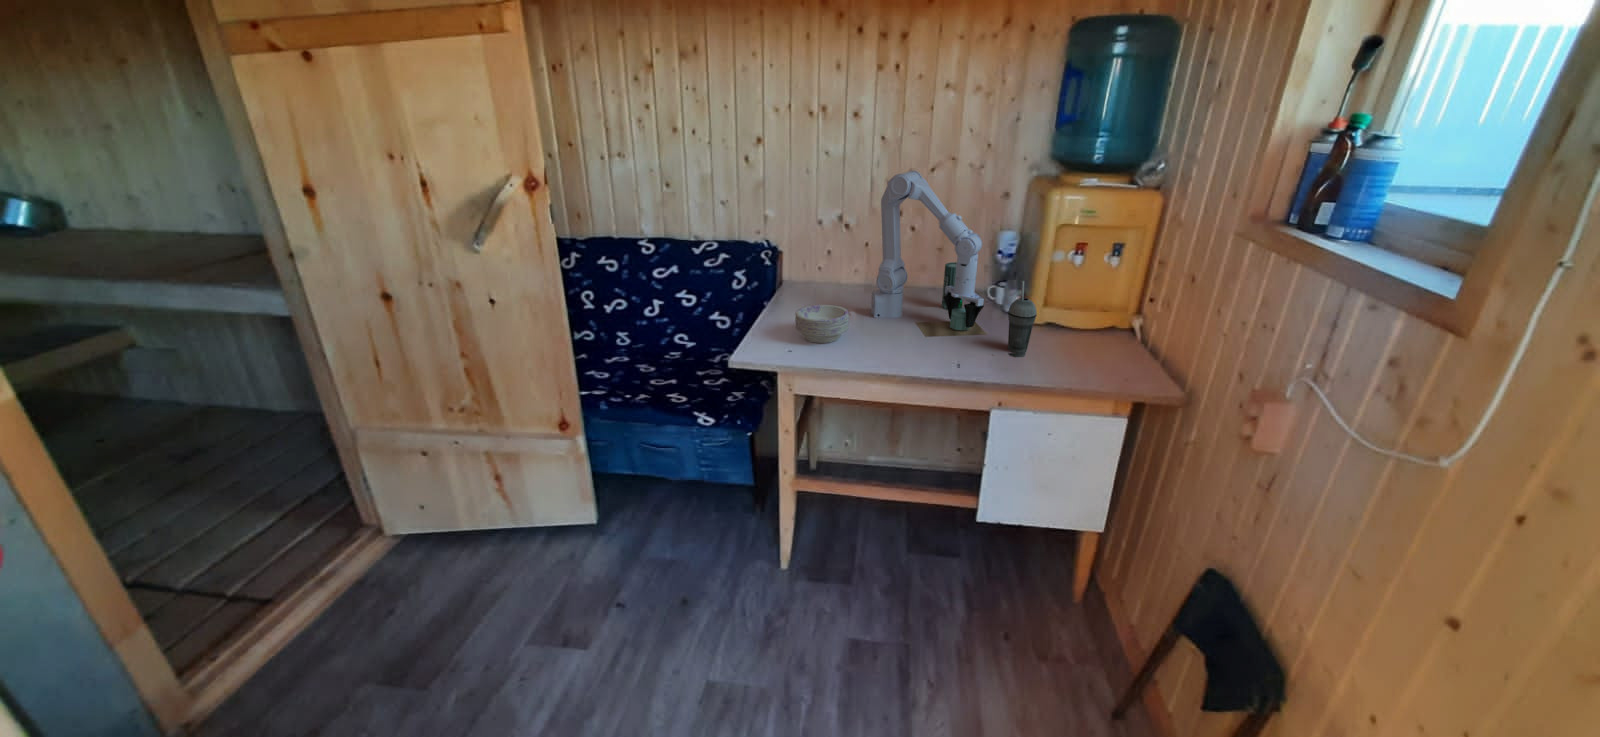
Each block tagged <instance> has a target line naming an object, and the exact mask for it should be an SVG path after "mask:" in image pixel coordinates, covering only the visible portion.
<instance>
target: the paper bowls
mask: <svg viewBox="0 0 1600 737" xmlns="http://www.w3.org/2000/svg"><path fill="white" fill-rule="evenodd" d="M794 319H795V330H796V331H797V332H798V333H800V334H802V336H803V337H804V338H805V339H806V340H807V341H809V342H812V343H815V342H816V343H817V344H827V343H833V342H836V341H838V340H839V339H840V338H841V336H842V334H845V333H846V332H848V330H849V327H850V326H849V325H850V321H849V320H850V312H849V311H848V309H846V308H844V307H842V306H838V305H834V304H833V305H831V304H814V305H806V306H803V307H800V308H798V309H797V310H796V312H795V318H794Z"/></svg>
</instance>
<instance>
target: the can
mask: <svg viewBox="0 0 1600 737" xmlns="http://www.w3.org/2000/svg"><path fill="white" fill-rule="evenodd" d="M956 265H957V261H956V262H947V263H945V264H944V272H943V273H944V274H943V286H942V296H941V297H942V298H941V299H942V300H941V308H942V309H944V310H947V311H948V309H947V305H946V302H945V300H944V298H943V297H944V296H945V295H947V293H945V287H946V286H953V287H954V286H955V276H956ZM963 300H964V299H961V301H960V303H959V307H958V308H963V303H964V302H963Z"/></svg>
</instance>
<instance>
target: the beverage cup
mask: <svg viewBox="0 0 1600 737" xmlns="http://www.w3.org/2000/svg"><path fill="white" fill-rule="evenodd" d="M1024 294H1025V280H1022V281H1021V295H1020V296H1021V297H1020V298H1017V299H1015V300H1014V301H1013V302H1012V303H1011V304H1010V305H1009V308H1008V311H1007V314H1008V317H1007V318H1008V335H1007V336H1008V337H1007V338H1008V342H1007V350H1008V351H1009V352H1008V353H1007V354H1008V355H1009V356H1010V357H1013V358H1024V357H1025V356H1026V353H1027V351H1028V346H1029V343H1030V339H1031V335H1032V330H1033V326H1034V323H1035V320H1036V319H1037V318H1036V317H1037V316H1038V315H1037V307H1036V305H1035V303H1034V302H1033V301H1032V300H1031V299H1029V298H1025V297H1024V296H1025V295H1024Z"/></svg>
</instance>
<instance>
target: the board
mask: <svg viewBox="0 0 1600 737" xmlns="http://www.w3.org/2000/svg"><path fill="white" fill-rule="evenodd" d="M950 322H951V320H949V321H948V320H947V321H945V320H944V321H915V322H914V323H915V324H916V326H917V327H918V328H919V330H920V331H921V332H922V334H923V336H925V337H926V338H929V337H930V338H931V337H933V338H934V337H957V336H958V337H959V336H961V337H963V336H987V335H988V333H987V332H986V331H985V330H984V329H983V328H982V327H981V326H980V325H979V324H978V323H977V322H976V321H975V323H974V325H973V327H969V329H968V330H964V331H960V330H954V329H952V328H950Z"/></svg>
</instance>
